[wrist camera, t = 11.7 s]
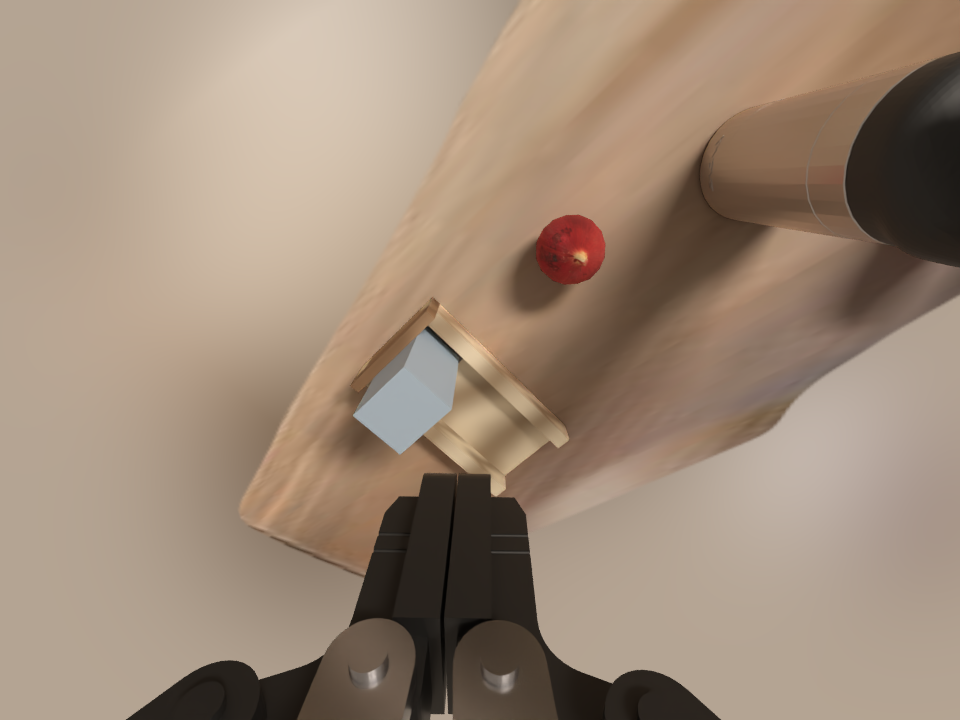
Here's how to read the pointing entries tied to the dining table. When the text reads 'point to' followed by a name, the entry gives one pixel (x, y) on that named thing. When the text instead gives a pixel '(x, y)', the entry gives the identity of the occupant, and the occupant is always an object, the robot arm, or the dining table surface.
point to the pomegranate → (570, 249)
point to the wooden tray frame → (476, 402)
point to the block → (410, 392)
